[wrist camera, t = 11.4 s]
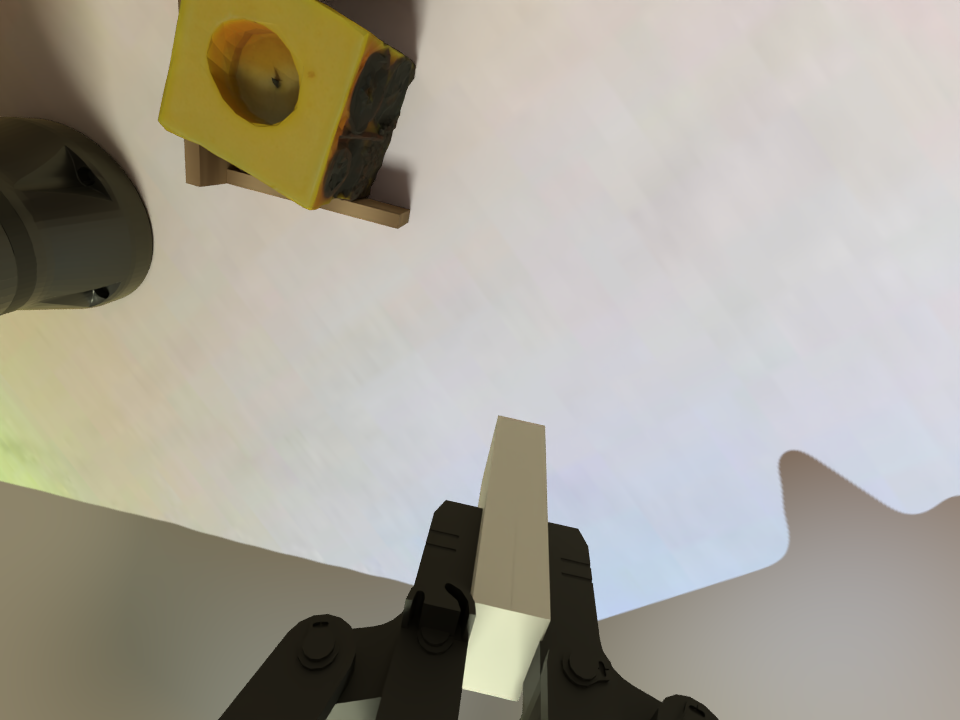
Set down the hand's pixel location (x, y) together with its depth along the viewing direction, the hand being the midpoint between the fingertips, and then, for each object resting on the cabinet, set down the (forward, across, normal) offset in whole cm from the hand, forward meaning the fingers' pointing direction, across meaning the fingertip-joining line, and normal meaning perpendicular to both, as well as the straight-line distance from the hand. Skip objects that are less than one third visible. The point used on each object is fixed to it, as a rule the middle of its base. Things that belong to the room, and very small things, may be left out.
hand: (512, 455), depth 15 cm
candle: (+25, -17, +9) cm, 31 cm away
